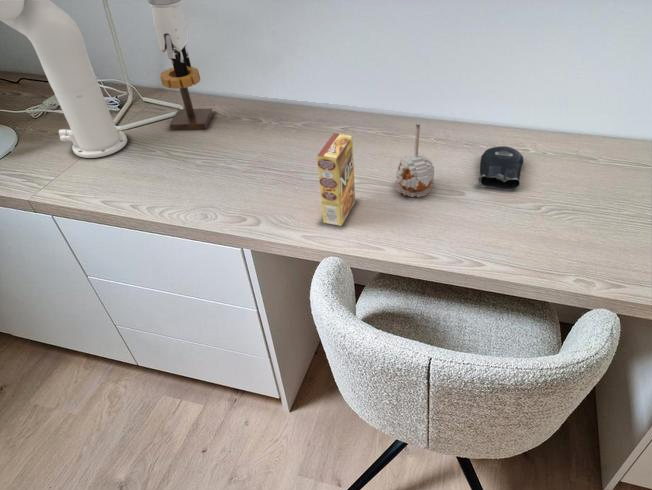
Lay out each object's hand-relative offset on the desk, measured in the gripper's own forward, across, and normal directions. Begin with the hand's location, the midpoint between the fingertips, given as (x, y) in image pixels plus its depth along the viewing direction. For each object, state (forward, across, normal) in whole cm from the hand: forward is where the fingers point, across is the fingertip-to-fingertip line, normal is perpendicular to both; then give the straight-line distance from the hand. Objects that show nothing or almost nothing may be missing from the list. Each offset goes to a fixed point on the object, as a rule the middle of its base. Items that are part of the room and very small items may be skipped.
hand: (184, 75), depth 126 cm
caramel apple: (+11, +38, +56) cm, 68 cm away
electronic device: (+11, +32, +76) cm, 83 cm away
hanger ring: (0, +3, 0) cm, 3 cm away
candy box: (+11, +46, +40) cm, 62 cm away
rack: (+11, +4, 0) cm, 12 cm away
